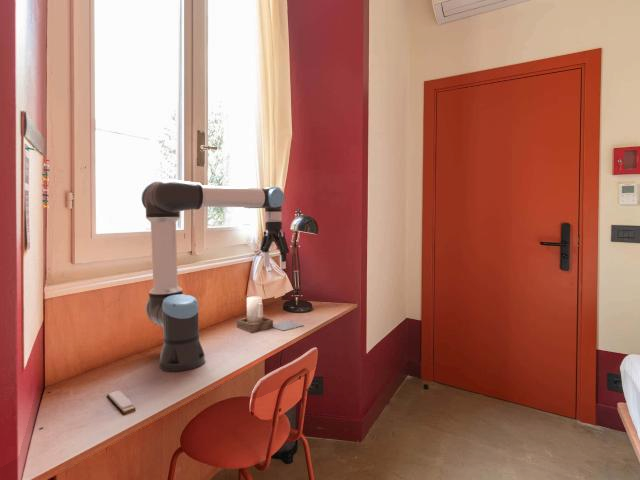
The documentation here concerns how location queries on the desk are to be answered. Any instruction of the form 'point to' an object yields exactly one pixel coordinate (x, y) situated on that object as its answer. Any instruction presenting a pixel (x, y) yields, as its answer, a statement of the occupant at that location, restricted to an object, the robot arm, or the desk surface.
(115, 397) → the harmonica
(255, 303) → the white rounded piece
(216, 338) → the desk surface
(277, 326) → the mat
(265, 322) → the holder
